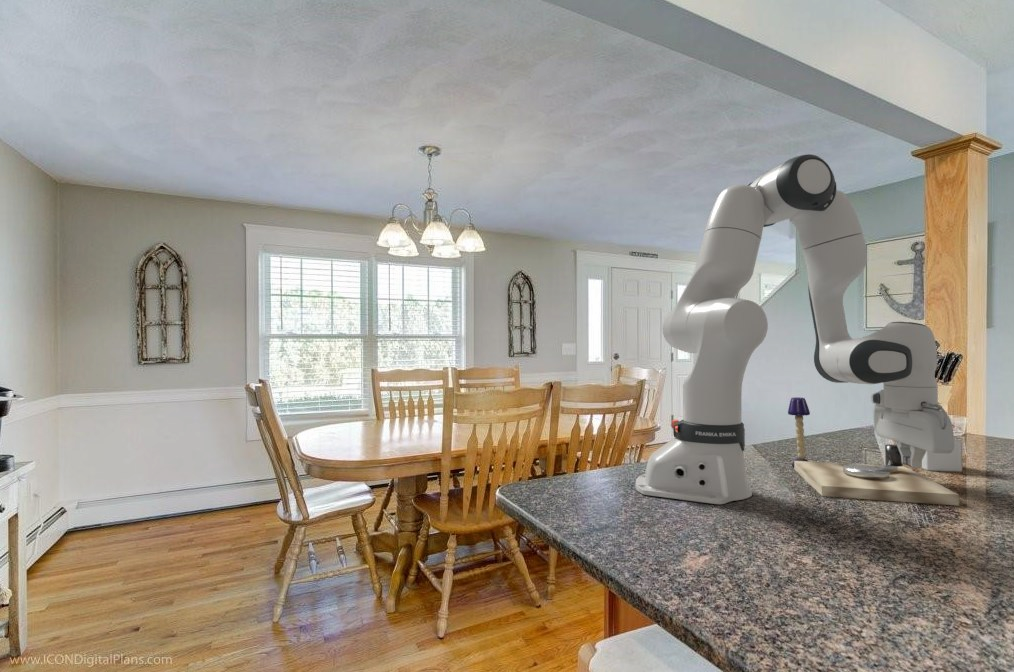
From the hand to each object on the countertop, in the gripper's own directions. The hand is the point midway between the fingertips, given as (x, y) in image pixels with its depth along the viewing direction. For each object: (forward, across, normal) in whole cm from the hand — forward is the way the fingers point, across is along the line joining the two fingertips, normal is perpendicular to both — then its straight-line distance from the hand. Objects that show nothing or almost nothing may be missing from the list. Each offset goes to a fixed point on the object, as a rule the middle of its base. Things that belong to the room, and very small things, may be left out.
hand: (911, 466), depth 105 cm
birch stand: (+4, 0, +9) cm, 10 cm away
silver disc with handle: (+2, +1, +6) cm, 6 cm away
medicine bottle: (+4, +17, -15) cm, 24 cm away
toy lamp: (+4, +15, +16) cm, 22 cm away
